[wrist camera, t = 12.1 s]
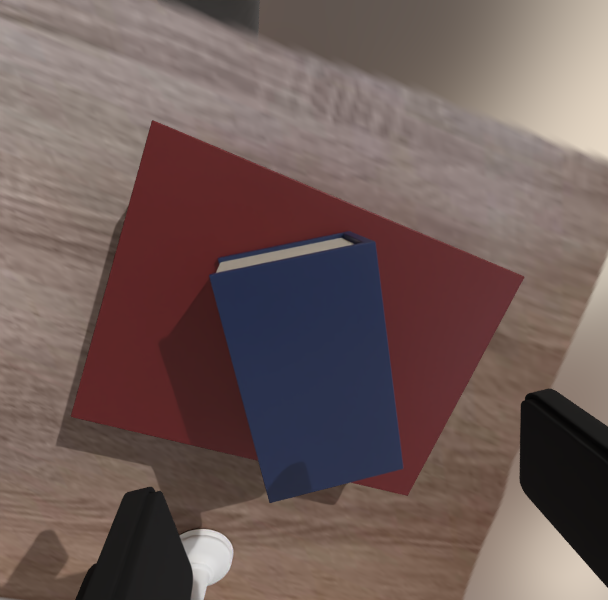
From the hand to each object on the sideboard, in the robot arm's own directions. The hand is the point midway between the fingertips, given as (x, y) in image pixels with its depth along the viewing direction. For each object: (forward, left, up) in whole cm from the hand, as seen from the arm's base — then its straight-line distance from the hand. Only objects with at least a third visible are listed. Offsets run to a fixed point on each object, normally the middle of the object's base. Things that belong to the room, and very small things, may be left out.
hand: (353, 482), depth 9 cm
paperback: (+1, 0, -10) cm, 10 cm away
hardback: (+1, 0, -15) cm, 15 cm away
